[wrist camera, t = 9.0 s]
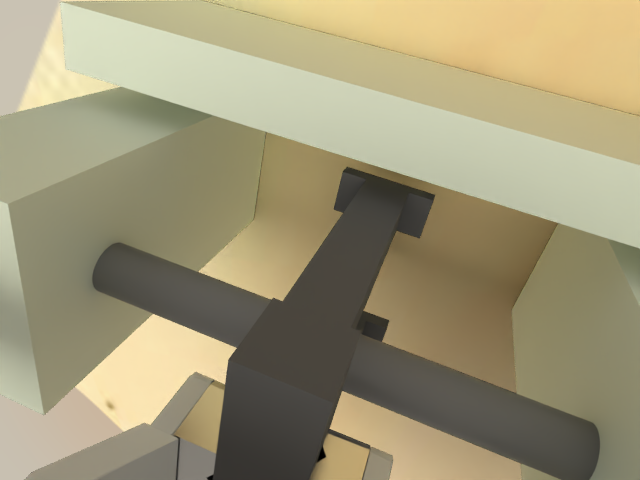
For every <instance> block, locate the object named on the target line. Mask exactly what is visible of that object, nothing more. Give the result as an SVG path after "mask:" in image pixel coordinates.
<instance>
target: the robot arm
mask: <svg viewBox="0 0 640 480" xmlns="http://www.w3.org/2000/svg"><path fill="white" fill-rule="evenodd" d="M224 390H225V384H222V383H220V382H218V381H216V380H214V379H211V378H209V377H207V376H204V375H202V374H200V373H197V372H195V373H194V374H192V375H191V376H189V378H188V379H187V380H186V381H185V383H184V384H183V385H182V386H181V388H180V389H179V390H178V391H177V393H176V394H175V395H174V396H173V398H172V399H171V400H170V401H169V403H168V404H167V405H166V406H165V408H164V409H163V410H162V411H161V413H160V414H159V415H158V416H157V418H156V419H155V420H154V421H153V423H152V424H151V425H149V424H146V423H143V424H141V425H139V426H136V427H134V428H132V429H129V430H127V431H125V432H123V433H121V434H118V435H116V436H114V437H111V438H109V439H107V440H104V441H102V442H100V443H97V444H95V445H93V446H91V447H88V448H86V449H84V450H81V451H79V452H77V453H74V454H72V455H70V456H68V457H65V458H63V459H61V460H58V461H56V462H54V463H51V464H49V465H47V466H45V467H42V468H40V469H38V470H35V471H33V472H31V473H30V474H29V475H28V477H27V478H26V479H25V480H213V473H214V466H215V458H216V451H217V443H218V436H219V428H220V421H221V413H222V406H223V398H224ZM392 464H393V457H392V455H390V454H388V453H385V452H383V451H381V450H378V449H376V448H373V447H370V445H368V444H365V443H363V442H360V441H358V440H356V439H353V438H351V437H348V436H346V435H343V434H341V433H338V432H336V431H333V430H331V429H329V430H328V433H327V435H326V438H325V440H324V443H323V446H322V449H321V452H320V455H319V458H318V461H317V463H316V464H315V467H314V470H313V472H312V475H311V477H310V480H389V478H390V473H391V468H392Z"/></svg>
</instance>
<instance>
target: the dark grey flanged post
mask: <svg viewBox="0 0 640 480" xmlns="http://www.w3.org/2000/svg"><path fill="white" fill-rule="evenodd" d="M434 197H435V195H434V194H431V193H428V192H425V191H421V190H418V189H415V188H412V187H409V186H406V185H402V184H399V183H396V182H393V181H390V180H387V179H384V178H380V177H377V176H374V175H371V174H368V173H365V172H361V171H358V170H355V169H352V168H349V167H346V169H345V170H344V171H343V173H342V177H341V181H340V186H339V190H338V194H337V198H336V202H335V206H334V210H337V211H340V212H343V214H342V216H341V217H340V219H339V220H338V221H337V223H336V224H335V226H334V227H333V229H332V230H331V232H330V233H329V235H328V236H327V238H326V239H325V240H324V242H323V243H322V245H321V246H320V248H319V249H318V251H317V252H316V254H315V255H314V257H313V258H312V259H311V261H310V262H309V264H308V265H307V267H306V268H305V270H304V271H303V273H302V274H301V276H300V277H299V278H298V280H297V281H296V283H295V284H294V286H293V287H292V289H291V290H290V292H289V293H288V295H287V296H286V297H285V299H284V300H283V301H280V300H277V299H275V298H273V299H272V300H271V302H270V303H269V304H268V306H267V307H266V309H265V310H264V311H263V313H262V314H261V316H260V317H259V318H258V320H257V321H256V322H255V324H254V325H253V327H252V328H251V329H250V331H249V332H248V333H247V335H246V336H245V338H244V339H243V340H242V342H241V343H240V345H239V346H238V347H237V349H236V350H235V351H234V353H233V354H232V356H231V357H230V358H229V360H228V368H227V375H226V383H225V390H224V398H223V406H222V413H221V421H220V428H219V436H218V443H217V451H216V458H215V466H214V473H213V480H310V477H311V475H312V472H313V470H314V467H315V464H316V463H317V461H318V458H319V455H320V452H321V449H322V446H323V443H324V440H325V438H326V435H327V433H328V430H329V428H330V425H331V422H332V419H333V416H334V413H335V410H336V407H337V404H338V401H339V398H340V395H341V392H342V389H343V386H344V383H345V380H346V377H347V374H348V371H349V368H350V364H351V361H352V358H353V355H354V352H355V349H356V346H357V343H358V340H359V337H360V334H362V335H365V336H367V337H370V338H372V339H375V340H378V341H380V342H382V340H383V337H384V334H385V332H386V329H387V326H388V323H389V320H386V319H384V318H381V317H378V316H376V315H373V314H370V313H368V312H365V311H363V310H364V308H365V305H366V303H367V300H368V298H369V295H370V293H371V291H372V288H373V286H374V283H375V281H376V278H377V276H378V273H379V271H380V269H381V266H382V264H383V261H384V259H385V256H386V254H387V252H388V249H389V247H390V244H391V242H392V239H393V237H394V234H395V232H396V231H399V232H402V233H405V234H408V235H411V236H414V237H417V238H420V236H421V233H422V231H423V228H424V225H425V222H426V220H427V217H428V214H429V211H430V209H431V206H432V203H433V200H434Z"/></svg>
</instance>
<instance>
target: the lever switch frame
mask: <svg viewBox="0 0 640 480" xmlns="http://www.w3.org/2000/svg"><path fill="white" fill-rule="evenodd" d="M60 7H61V19H62V31H63V43H64V55H65V67H66V70H70V71H73V72H76V73H79V74H82V75H86V76H89V77H92V78H95V79H98V80H102V81H105V82H108V83H111V84H115V85H118V86H121V87H118V88H114V89H110V90H106V91H102V92H98V93H94V94H90V95H86V96H82V97H77V98H73V99H69V100H65V101H61V102H57V103H53V104H49V105H45V106H41V107H36V108H32V109H28V110H24V111H20V112H16V113H12V114H8V115H4V116H0V395H2V396H4V397H6V398H9V399H10V400H12V401H15V402H17V403H19V404H21V405H23V406H25V407H28V408H29V409H31V410H34V411H36V412H38V413H40V414H42V415H45V414H46V413H47V412H48V411H49V410H50V409H51V408H53V407H54V406H55V405H56V404H57V403H58V402H59V401H60V400H61V399H62V398H63V397H64V396H65V395H67V394H68V393H69V392H70V391H71V390H72V389H73V388H74V387H75V386H76V385H77V384H78V383H79V382H80V381H82V380H83V379H84V378H85V377H86V376H87V375H88V374H89V373H90V372H91V371H92V370H93V369H94V368H95V367H96V366H98V365H99V364H100V363H101V362H102V361H103V360H104V359H105V358H106V357H107V356H108V355H109V354H110V353H111V352H113V351H114V350H115V349H116V348H117V347H118V346H119V345H120V344H121V343H122V342H123V341H124V340H125V339H126V338H128V337H129V336H130V335H131V334H132V333H133V332H134V331H135V330H136V329H137V328H138V327H139V326H140V325H141V324H143V323H144V322H145V321H146V320H147V319H148V318H149V317H150V316H151V315H152V314H155V315H158V316H160V317H163V318H165V319H168V320H170V321H172V322H175V323H177V324H180V325H182V326H185V327H187V328H190V329H192V330H195V331H197V332H199V333H202V334H204V335H207V336H209V337H212V338H214V339H217V340H219V341H222V342H224V343H226V344H229V345H231V346H234V347H236V348H237V347H238V346H239V345H240V343H241V342H242V340H243V339H244V338H245V336H246V335H247V333H248V332H249V331H250V329H251V328H252V327H253V325H254V324H255V322H256V321H257V320H258V318H259V317H260V316H261V314H262V313H263V311H264V310H265V309H266V307H267V306H268V304H269V303H270V302H271V300H270V299H268V298H265V297H262V296H260V295H257V294H254V293H252V292H249V291H247V290H244V289H241V288H239V287H236V286H233V285H231V284H228V283H226V282H223V281H220V280H218V279H215V278H212V277H210V276H207V275H205V274H202V273H199V272H198V271H199V270H200V269H201V268H202V267H204V266H205V265H206V264H207V263H208V262H209V261H210V260H211V259H212V258H213V257H214V256H215V255H216V254H217V253H218V252H220V251H221V250H222V249H223V248H224V247H225V246H226V245H227V244H228V243H229V242H230V241H231V240H232V239H233V238H235V237H236V236H237V235H238V234H239V233H240V232H241V231H242V230H243V229H244V228H245V227H246V226H247V225H248V224H250V223H251V222H252V221H253V220H254V213H255V206H256V199H257V192H258V185H259V178H260V171H261V164H262V157H263V150H264V143H265V136H266V132H268V133H271V134H275V135H278V136H281V137H284V138H287V139H291V140H294V141H297V142H300V143H303V144H307V145H310V146H313V147H316V148H319V149H323V150H326V151H329V152H332V153H336V154H339V155H342V156H345V157H348V158H352V159H355V160H358V161H361V162H364V163H368V164H371V165H374V166H377V167H380V168H384V169H387V170H390V171H393V172H396V173H400V174H403V175H406V176H409V177H412V178H416V179H419V180H422V181H425V182H428V183H432V184H435V185H438V186H441V187H444V188H448V189H451V190H454V191H457V192H460V193H464V194H467V195H470V196H473V197H476V198H480V199H483V200H486V201H489V202H492V203H496V204H499V205H502V206H505V207H508V208H512V209H515V210H518V211H521V212H524V213H528V214H531V215H534V216H537V217H541V218H544V219H547V220H550V221H553V222H557V223H558V225H557V226H556V228H555V230H554V232H553V234H552V236H551V238H550V239H549V241H548V243H547V245H546V247H545V249H544V251H543V252H542V254H541V256H540V258H539V260H538V262H537V264H536V266H535V267H534V269H533V271H532V273H531V275H530V277H529V279H528V280H527V282H526V284H525V286H524V288H523V290H522V292H521V293H520V295H519V297H518V299H517V301H516V303H515V305H514V306H513V308H512V326H513V343H514V360H515V376H516V393H514V392H511V391H509V390H506V389H503V388H501V387H498V386H496V385H493V384H490V383H488V382H485V381H482V380H480V379H477V378H475V377H472V376H469V375H467V374H464V373H462V372H459V371H456V370H454V369H451V368H448V367H446V366H443V365H441V364H438V363H435V362H433V361H430V360H427V359H425V358H422V357H420V356H417V355H414V354H412V353H409V352H406V351H404V350H401V349H399V348H396V347H393V346H391V345H388V344H385V343H383V342H380V341H378V340H375V339H372V338H370V337H367V336H365V335H362V334H360V337H359V340H358V343H357V346H356V349H355V352H354V355H353V358H352V361H351V364H350V368H349V371H348V374H347V377H346V380H345V383H344V386H343V389H342V391H344V392H347V393H349V394H352V395H354V396H357V397H359V398H362V399H364V400H366V401H369V402H371V403H374V404H376V405H379V406H381V407H384V408H386V409H389V410H391V411H394V412H396V413H398V414H401V415H403V416H406V417H408V418H411V419H413V420H416V421H418V422H421V423H423V424H425V425H428V426H430V427H433V428H435V429H438V430H440V431H443V432H445V433H448V434H450V435H452V436H455V437H457V438H460V439H462V440H465V441H467V442H470V443H472V444H475V445H477V446H479V447H482V448H484V449H487V450H489V451H492V452H494V453H497V454H499V455H502V456H504V457H506V458H509V459H511V460H514V461H516V462H519V463H521V476H522V480H640V116H637V115H633V114H630V113H626V112H622V111H618V110H614V109H611V108H607V107H603V106H599V105H595V104H592V103H588V102H584V101H580V100H577V99H573V98H569V97H565V96H561V95H558V94H554V93H550V92H546V91H543V90H539V89H535V88H531V87H527V86H524V85H520V84H516V83H512V82H509V81H505V80H501V79H497V78H493V77H490V76H486V75H482V74H478V73H474V72H471V71H467V70H463V69H459V68H456V67H452V66H448V65H444V64H440V63H437V62H433V61H429V60H425V59H422V58H418V57H414V56H410V55H406V54H403V53H399V52H395V51H391V50H388V49H384V48H380V47H376V46H372V45H369V44H365V43H361V42H357V41H354V40H350V39H346V38H342V37H338V36H335V35H331V34H327V33H323V32H319V31H316V30H312V29H308V28H304V27H301V26H297V25H293V24H289V23H285V22H282V21H278V20H274V19H270V18H267V17H263V16H259V15H255V14H251V13H248V12H244V11H240V10H236V9H233V8H229V7H225V6H221V5H217V4H214V3H210V2H206V1H202V0H153V1H73V2H60Z"/></svg>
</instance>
